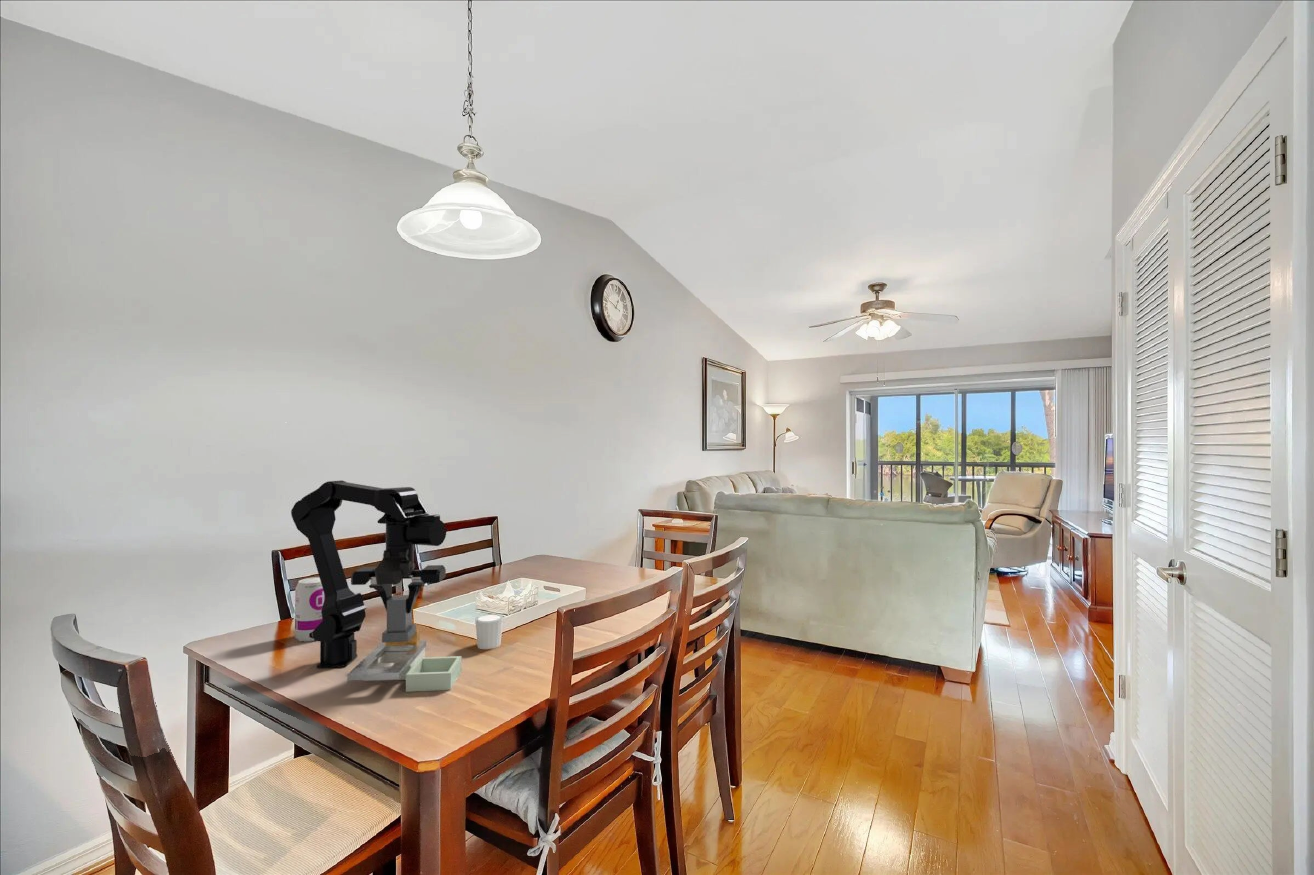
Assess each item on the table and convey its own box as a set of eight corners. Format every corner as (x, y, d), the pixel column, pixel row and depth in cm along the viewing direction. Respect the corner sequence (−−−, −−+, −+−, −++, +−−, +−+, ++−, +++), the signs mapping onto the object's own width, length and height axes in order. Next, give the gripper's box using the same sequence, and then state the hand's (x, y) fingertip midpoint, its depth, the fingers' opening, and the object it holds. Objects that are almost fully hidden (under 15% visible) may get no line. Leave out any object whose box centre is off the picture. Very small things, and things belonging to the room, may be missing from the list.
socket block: (380, 662, 128) (380, 649, 128) (424, 660, 130) (425, 648, 130) (362, 681, 119) (362, 667, 119) (410, 679, 120) (410, 665, 120)
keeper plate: (382, 647, 129) (382, 629, 129) (426, 645, 130) (426, 627, 130) (347, 680, 111) (347, 659, 111) (398, 678, 112) (398, 657, 112)
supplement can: (337, 635, 146) (338, 578, 146) (304, 644, 139) (304, 585, 139) (322, 629, 150) (322, 574, 151) (288, 638, 144) (289, 581, 144)
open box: (405, 691, 114) (405, 674, 114) (419, 673, 123) (419, 657, 123) (450, 689, 115) (450, 673, 115) (461, 671, 124) (461, 656, 124)
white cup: (494, 651, 136) (495, 622, 136) (469, 649, 137) (469, 620, 137) (507, 641, 143) (508, 614, 143) (483, 639, 144) (483, 612, 144)
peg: (382, 642, 121) (382, 601, 121) (391, 633, 126) (391, 594, 126) (407, 641, 121) (407, 600, 121) (415, 633, 127) (415, 593, 127)
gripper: (339, 551, 115) (338, 626, 115) (432, 549, 117) (431, 623, 117) (362, 541, 126) (361, 610, 126) (446, 540, 128) (446, 607, 128)
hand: (399, 613), depth 124 cm, fingers closed on peg, 4 cm apart
